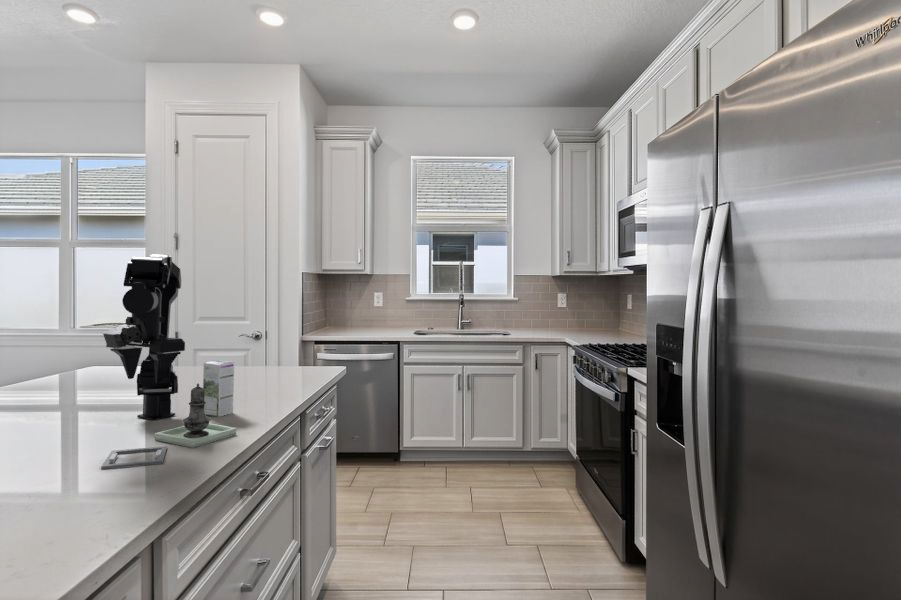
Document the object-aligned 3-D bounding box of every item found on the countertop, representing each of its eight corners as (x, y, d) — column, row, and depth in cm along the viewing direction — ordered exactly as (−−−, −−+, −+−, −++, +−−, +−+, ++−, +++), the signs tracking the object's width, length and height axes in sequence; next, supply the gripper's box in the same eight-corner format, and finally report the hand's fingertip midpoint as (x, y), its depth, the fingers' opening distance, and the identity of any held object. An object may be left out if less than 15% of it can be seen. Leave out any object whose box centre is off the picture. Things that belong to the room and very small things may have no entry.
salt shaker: (206, 438, 114) (207, 385, 114) (178, 438, 113) (180, 385, 113) (213, 431, 120) (215, 381, 120) (186, 431, 119) (188, 380, 118)
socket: (111, 453, 103) (111, 449, 103) (167, 448, 107) (167, 444, 107) (101, 469, 94) (101, 464, 94) (162, 463, 98) (162, 459, 98)
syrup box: (234, 413, 140) (235, 361, 140) (217, 417, 134) (219, 363, 134) (217, 410, 142) (219, 359, 141) (201, 415, 136) (202, 362, 136)
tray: (154, 439, 113) (154, 433, 113) (199, 427, 124) (199, 421, 124) (193, 447, 108) (193, 440, 108) (236, 434, 119) (236, 428, 119)
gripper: (82, 311, 110) (80, 381, 110) (141, 315, 103) (138, 390, 103) (131, 310, 121) (129, 375, 121) (187, 314, 113) (185, 382, 114)
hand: (144, 380), depth 114 cm, fingers open, 9 cm apart
